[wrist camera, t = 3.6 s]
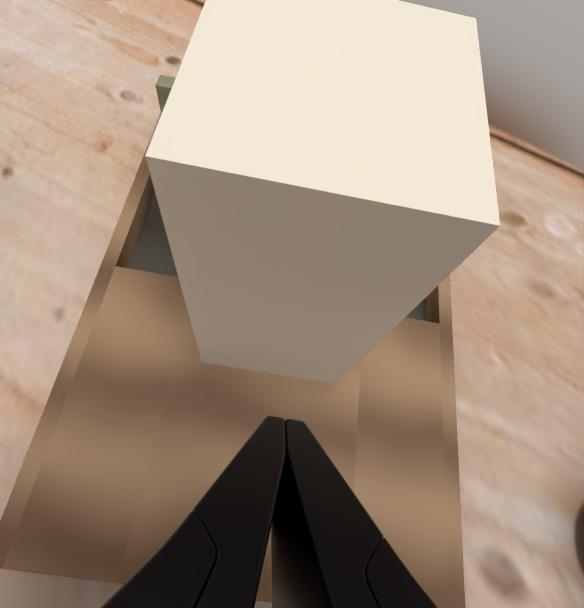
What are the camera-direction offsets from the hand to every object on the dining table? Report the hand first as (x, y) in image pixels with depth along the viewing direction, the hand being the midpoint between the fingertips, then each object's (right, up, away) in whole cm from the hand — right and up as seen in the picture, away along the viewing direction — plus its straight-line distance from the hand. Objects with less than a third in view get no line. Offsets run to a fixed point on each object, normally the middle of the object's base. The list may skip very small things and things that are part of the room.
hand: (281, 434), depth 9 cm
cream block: (0, +3, +13) cm, 13 cm away
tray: (-1, +2, +15) cm, 15 cm away
